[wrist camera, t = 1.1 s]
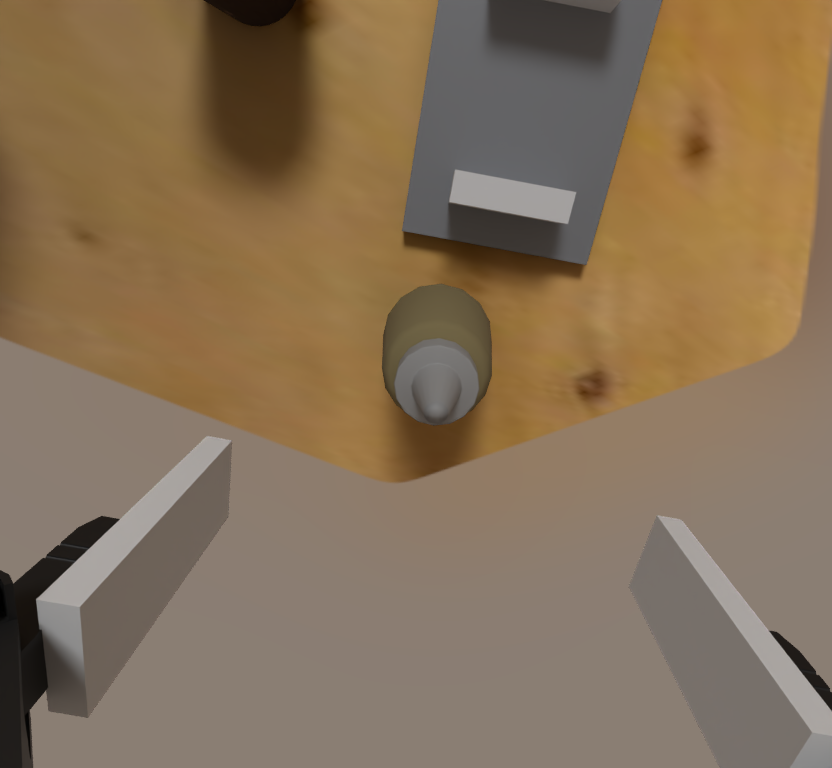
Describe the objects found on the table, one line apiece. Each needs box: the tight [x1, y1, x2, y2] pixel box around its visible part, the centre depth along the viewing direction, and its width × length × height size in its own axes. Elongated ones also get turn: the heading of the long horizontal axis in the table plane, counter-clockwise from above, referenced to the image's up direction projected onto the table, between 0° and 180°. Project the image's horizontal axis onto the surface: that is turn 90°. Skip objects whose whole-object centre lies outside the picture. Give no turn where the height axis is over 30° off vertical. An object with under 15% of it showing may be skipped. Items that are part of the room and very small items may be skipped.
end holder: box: [402, 0, 662, 265], centre depth 32 cm, size 14×20×5 cm
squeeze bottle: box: [382, 284, 492, 425], centre depth 32 cm, size 8×8×18 cm
